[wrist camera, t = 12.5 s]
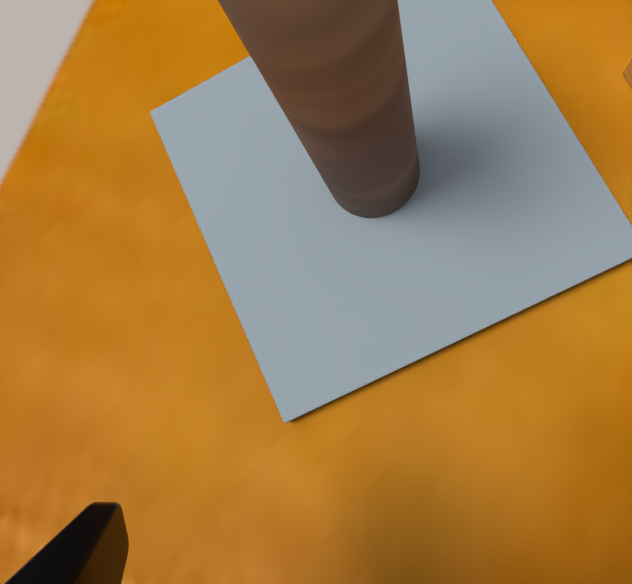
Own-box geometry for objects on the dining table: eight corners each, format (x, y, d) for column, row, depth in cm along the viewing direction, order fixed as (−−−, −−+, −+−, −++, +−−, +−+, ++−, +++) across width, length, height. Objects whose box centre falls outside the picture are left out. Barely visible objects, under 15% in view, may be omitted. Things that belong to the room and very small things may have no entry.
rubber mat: (639, 254, 18) (647, 250, 17) (288, 421, 19) (284, 423, 18) (454, -46, 20) (455, -59, 20) (157, 119, 21) (149, 112, 21)
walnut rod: (439, 164, 18) (417, -324, 6) (377, 236, 18) (226, -99, 6) (368, 113, 19) (217, -408, 7) (309, 181, 19) (53, -210, 7)
